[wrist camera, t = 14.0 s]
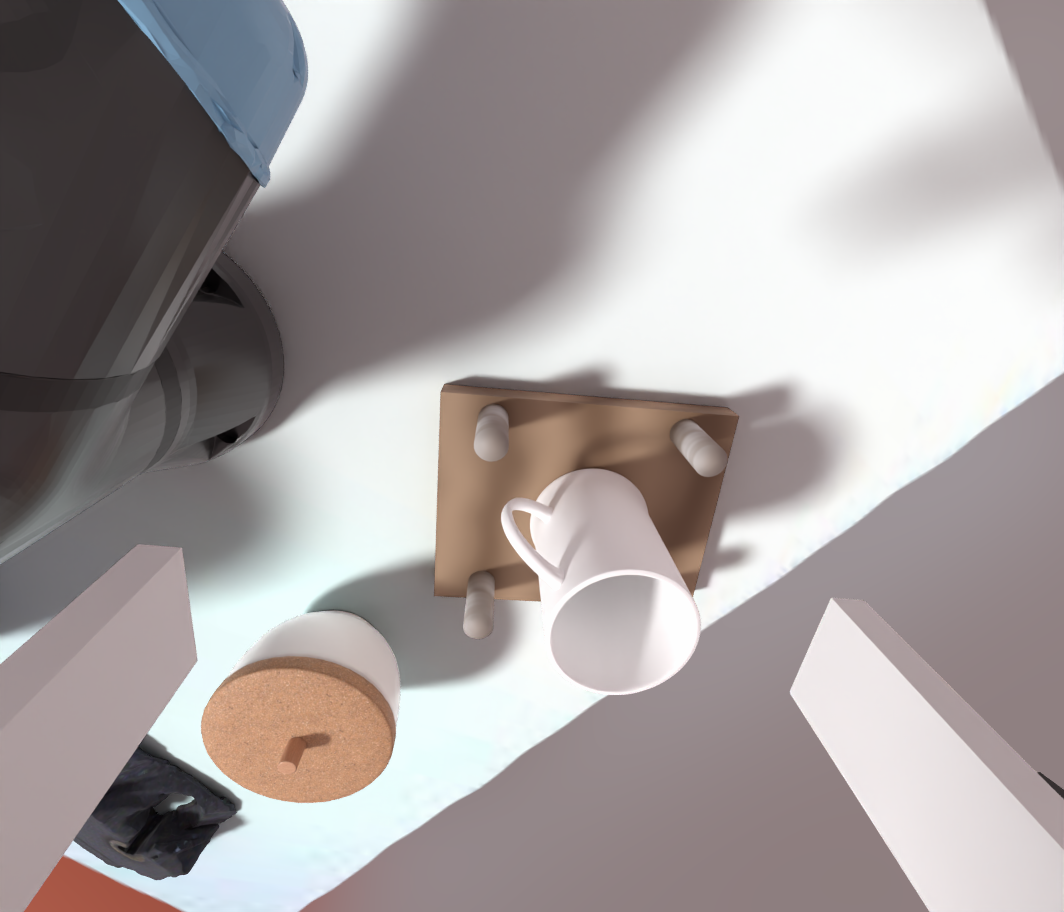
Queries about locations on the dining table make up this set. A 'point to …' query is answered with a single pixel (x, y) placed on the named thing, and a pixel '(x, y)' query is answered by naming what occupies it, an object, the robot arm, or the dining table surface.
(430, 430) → the dining table surface
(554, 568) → the mug
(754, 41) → the dining table surface
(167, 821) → the dark slate chunk
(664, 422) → the peg board
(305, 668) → the lidded bowl
